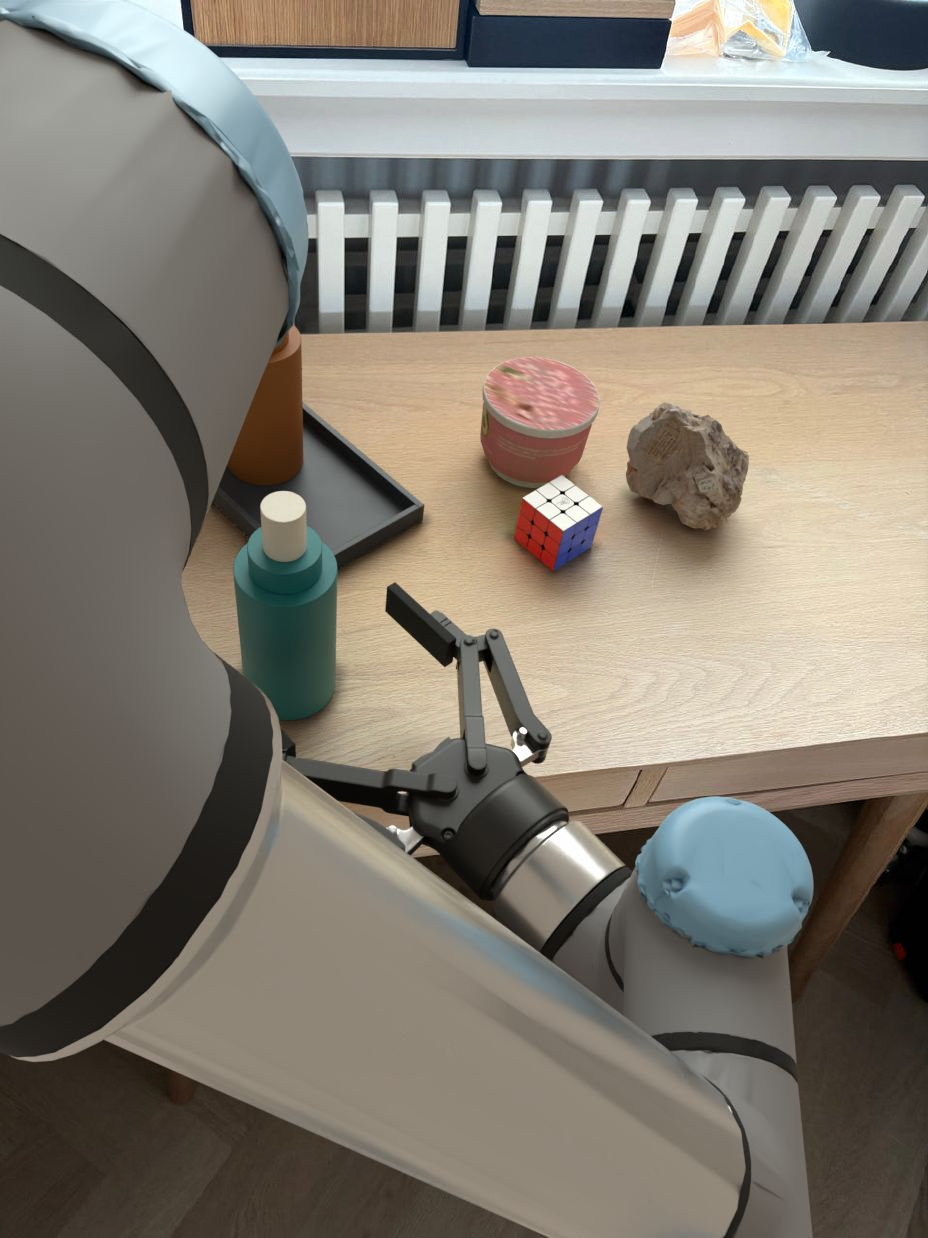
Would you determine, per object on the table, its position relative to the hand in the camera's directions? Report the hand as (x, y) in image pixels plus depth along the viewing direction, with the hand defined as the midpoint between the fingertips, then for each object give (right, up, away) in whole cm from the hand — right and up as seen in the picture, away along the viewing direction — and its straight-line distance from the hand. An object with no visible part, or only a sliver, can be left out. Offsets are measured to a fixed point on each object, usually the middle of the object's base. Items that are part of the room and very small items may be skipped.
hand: (313, 641), depth 70 cm
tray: (-8, +16, +22) cm, 28 cm away
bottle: (-3, -3, +7) cm, 8 cm away
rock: (+30, +12, +25) cm, 41 cm away
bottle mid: (-8, +16, +22) cm, 28 cm away
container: (+16, +16, +27) cm, 35 cm away
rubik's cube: (+18, +8, +20) cm, 28 cm away
